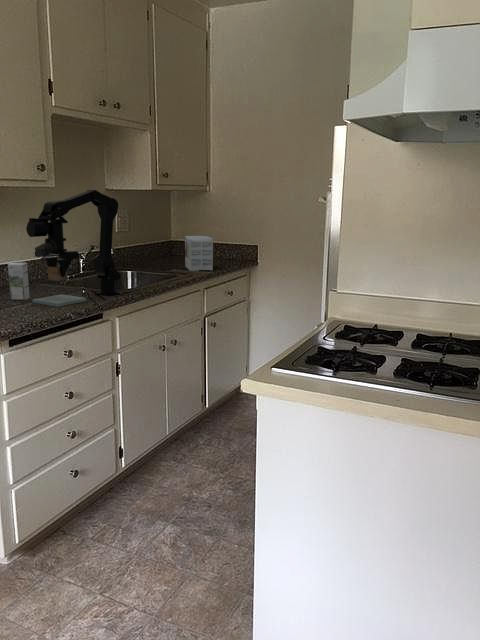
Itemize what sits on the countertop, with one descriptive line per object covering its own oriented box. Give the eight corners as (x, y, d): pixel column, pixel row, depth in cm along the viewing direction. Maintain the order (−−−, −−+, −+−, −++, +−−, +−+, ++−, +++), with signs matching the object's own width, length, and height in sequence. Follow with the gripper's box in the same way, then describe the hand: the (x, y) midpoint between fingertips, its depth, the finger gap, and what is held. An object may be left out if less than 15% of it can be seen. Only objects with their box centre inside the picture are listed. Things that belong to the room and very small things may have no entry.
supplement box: (184, 267, 322) (184, 235, 318) (206, 266, 326) (206, 235, 322) (189, 271, 306) (189, 238, 302) (213, 270, 310) (213, 238, 306)
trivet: (61, 297, 225) (61, 294, 225) (85, 300, 218) (85, 297, 218) (32, 302, 213) (32, 299, 213) (57, 306, 206) (57, 303, 206)
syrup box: (30, 297, 223) (27, 261, 220) (24, 300, 217) (22, 263, 214) (15, 297, 223) (12, 261, 220) (10, 300, 217) (7, 263, 214)
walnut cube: (58, 278, 217) (58, 265, 216) (67, 279, 214) (67, 266, 213) (48, 279, 213) (47, 266, 212) (57, 281, 210) (56, 267, 209)
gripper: (21, 235, 208) (24, 276, 212) (55, 238, 199) (58, 281, 202) (45, 234, 217) (48, 273, 221) (79, 236, 208) (81, 277, 211)
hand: (58, 276), depth 213 cm, fingers closed on walnut cube, 5 cm apart
